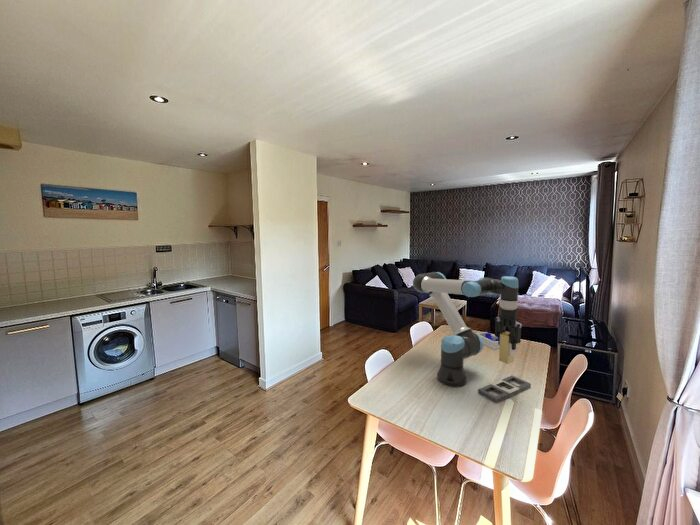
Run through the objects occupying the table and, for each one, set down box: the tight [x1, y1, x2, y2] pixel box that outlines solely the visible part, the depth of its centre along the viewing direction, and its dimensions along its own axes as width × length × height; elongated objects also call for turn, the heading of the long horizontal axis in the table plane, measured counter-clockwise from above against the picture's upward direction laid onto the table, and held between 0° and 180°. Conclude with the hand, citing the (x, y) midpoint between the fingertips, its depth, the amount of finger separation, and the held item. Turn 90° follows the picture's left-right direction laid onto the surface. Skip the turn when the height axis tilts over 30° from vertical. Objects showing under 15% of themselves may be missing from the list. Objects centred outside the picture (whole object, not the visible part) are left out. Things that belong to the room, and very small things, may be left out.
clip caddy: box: [475, 331, 500, 350], centre depth 208 cm, size 10×18×5 cm, turn 19°
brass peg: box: [498, 330, 515, 365], centre depth 145 cm, size 5×5×15 cm
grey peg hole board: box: [477, 375, 532, 404], centre depth 148 cm, size 28×10×2 cm, turn 119°
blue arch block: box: [485, 332, 498, 342], centre depth 207 cm, size 12×4×6 cm, turn 13°
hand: (506, 353), depth 146 cm, fingers closed on brass peg, 5 cm apart
